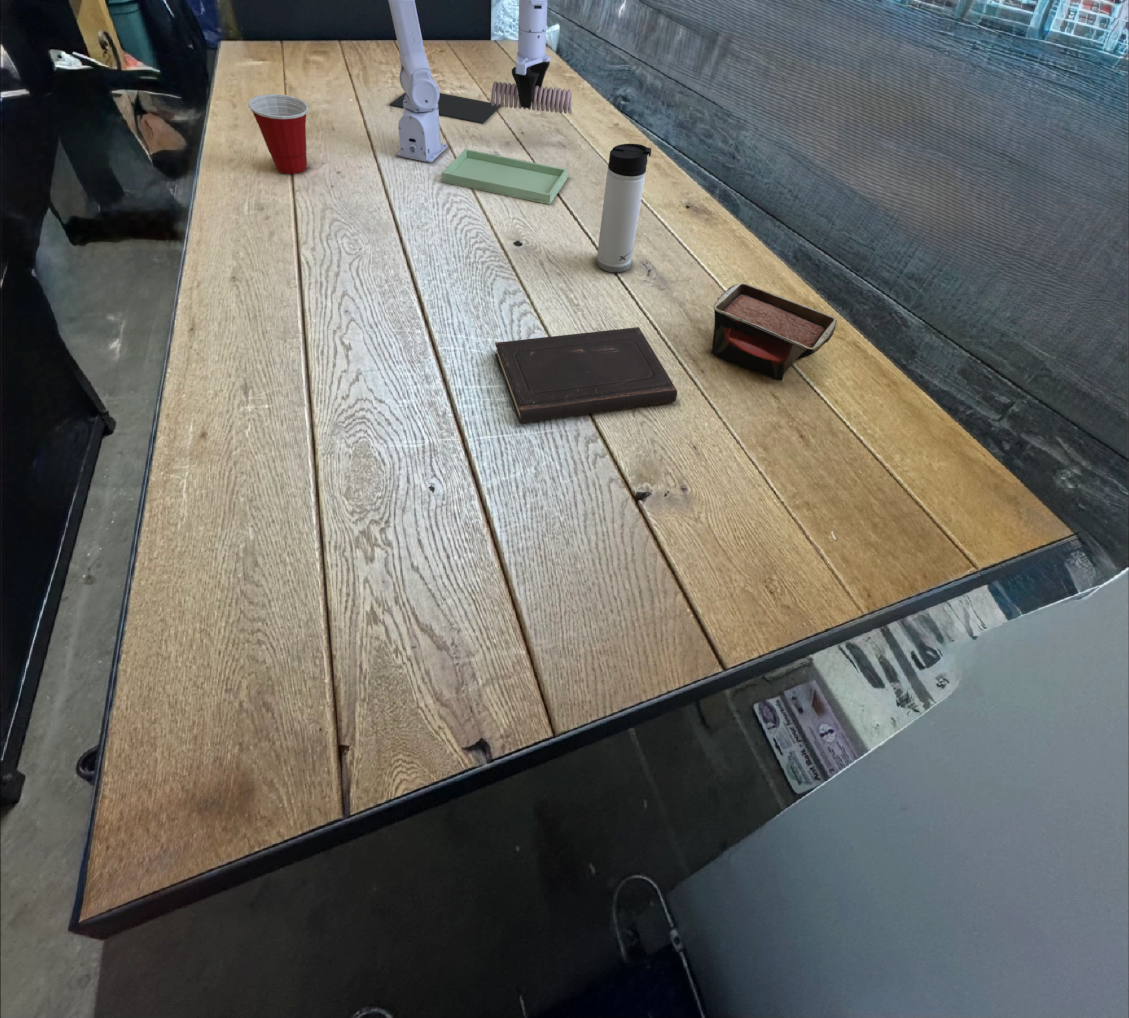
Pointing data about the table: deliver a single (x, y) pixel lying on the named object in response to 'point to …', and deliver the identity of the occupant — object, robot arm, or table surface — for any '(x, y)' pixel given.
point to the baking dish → (766, 330)
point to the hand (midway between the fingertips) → (529, 102)
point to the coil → (540, 97)
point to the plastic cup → (283, 129)
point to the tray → (505, 176)
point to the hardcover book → (582, 374)
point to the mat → (459, 108)
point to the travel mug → (621, 206)
